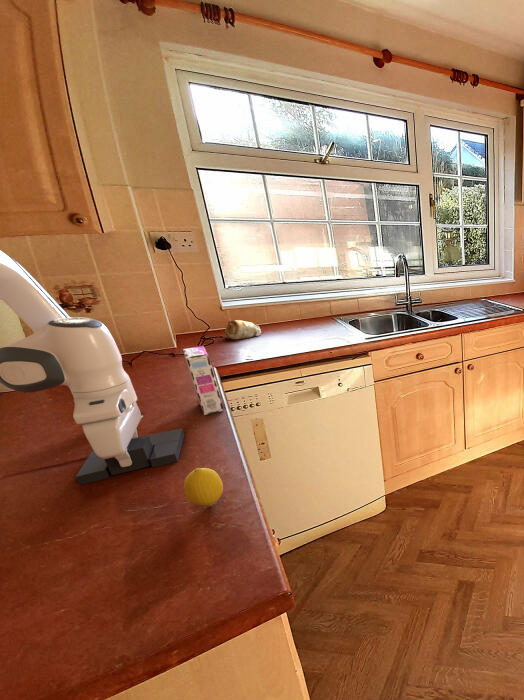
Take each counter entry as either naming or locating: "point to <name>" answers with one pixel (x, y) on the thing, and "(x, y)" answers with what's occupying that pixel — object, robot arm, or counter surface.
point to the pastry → (241, 330)
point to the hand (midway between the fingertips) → (131, 456)
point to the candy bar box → (203, 380)
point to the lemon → (203, 487)
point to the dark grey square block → (133, 456)
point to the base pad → (163, 453)
